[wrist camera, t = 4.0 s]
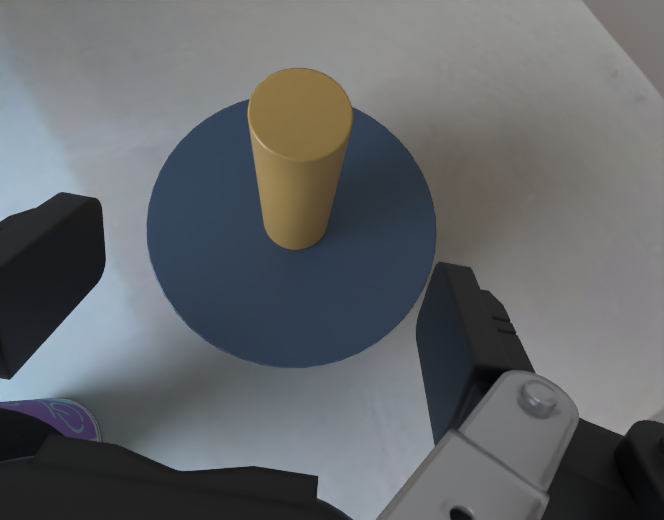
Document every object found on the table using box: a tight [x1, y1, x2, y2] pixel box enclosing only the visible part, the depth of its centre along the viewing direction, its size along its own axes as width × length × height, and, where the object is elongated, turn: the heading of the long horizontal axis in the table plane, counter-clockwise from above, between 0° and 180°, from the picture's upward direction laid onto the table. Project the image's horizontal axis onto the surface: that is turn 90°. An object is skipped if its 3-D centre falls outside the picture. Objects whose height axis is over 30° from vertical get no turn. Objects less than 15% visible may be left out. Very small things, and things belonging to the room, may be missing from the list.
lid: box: [147, 68, 436, 368], centre depth 18 cm, size 14×14×10 cm
